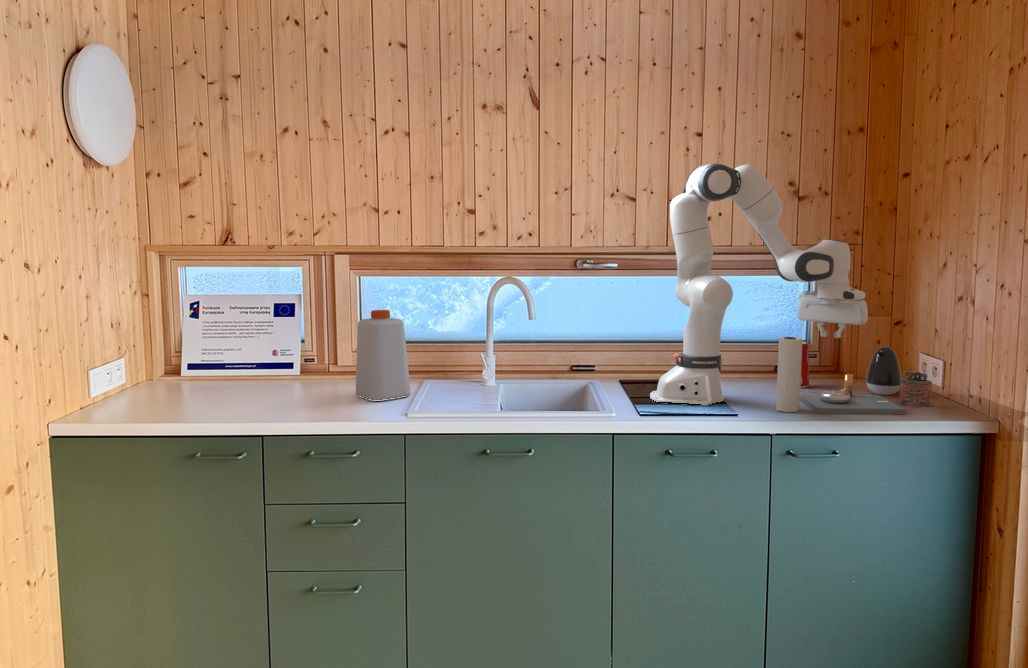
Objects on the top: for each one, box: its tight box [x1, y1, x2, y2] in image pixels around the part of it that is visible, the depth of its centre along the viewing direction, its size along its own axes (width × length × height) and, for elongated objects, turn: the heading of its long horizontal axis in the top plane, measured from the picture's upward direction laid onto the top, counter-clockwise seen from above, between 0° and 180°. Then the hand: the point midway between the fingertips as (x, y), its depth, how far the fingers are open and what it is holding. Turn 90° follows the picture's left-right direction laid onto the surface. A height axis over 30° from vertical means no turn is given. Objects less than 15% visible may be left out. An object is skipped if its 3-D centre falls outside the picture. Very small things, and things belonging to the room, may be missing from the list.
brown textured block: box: [898, 370, 933, 408], centre depth 213 cm, size 8×3×10 cm, turn 59°
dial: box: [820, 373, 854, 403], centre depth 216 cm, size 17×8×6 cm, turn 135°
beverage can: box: [800, 341, 810, 389], centre depth 240 cm, size 6×6×15 cm
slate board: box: [800, 393, 906, 415], centre depth 213 cm, size 24×18×2 cm
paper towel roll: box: [775, 336, 804, 413], centre depth 207 cm, size 7×6×21 cm
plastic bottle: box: [355, 309, 412, 400], centre depth 231 cm, size 15×15×28 cm
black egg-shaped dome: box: [865, 346, 903, 396], centre depth 228 cm, size 10×10×15 cm
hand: (830, 337), depth 222 cm, fingers open, 3 cm apart
